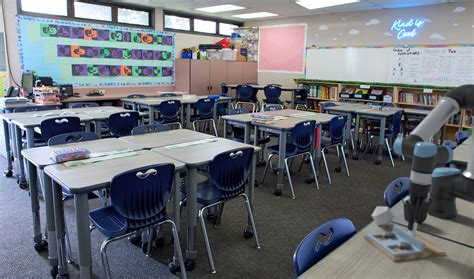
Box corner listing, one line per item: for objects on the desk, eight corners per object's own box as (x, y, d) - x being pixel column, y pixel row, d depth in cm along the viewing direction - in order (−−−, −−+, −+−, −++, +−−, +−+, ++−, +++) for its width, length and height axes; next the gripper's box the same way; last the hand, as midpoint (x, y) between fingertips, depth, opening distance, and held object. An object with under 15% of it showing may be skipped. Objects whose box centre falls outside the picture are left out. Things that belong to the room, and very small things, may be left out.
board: (411, 233, 157) (412, 225, 156) (444, 254, 140) (446, 246, 139) (363, 238, 150) (364, 230, 149) (393, 261, 133) (394, 252, 132)
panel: (395, 233, 153) (396, 225, 152) (423, 252, 138) (425, 243, 137) (366, 236, 149) (368, 228, 148) (393, 256, 134) (394, 247, 133)
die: (390, 232, 158) (401, 212, 160) (372, 220, 159) (384, 201, 160) (381, 230, 167) (392, 211, 168) (365, 219, 167) (376, 201, 169)
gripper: (426, 178, 145) (417, 231, 150) (399, 179, 142) (391, 234, 147) (441, 184, 138) (431, 240, 143) (413, 185, 135) (404, 243, 140)
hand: (411, 237), depth 145 cm, fingers closed
